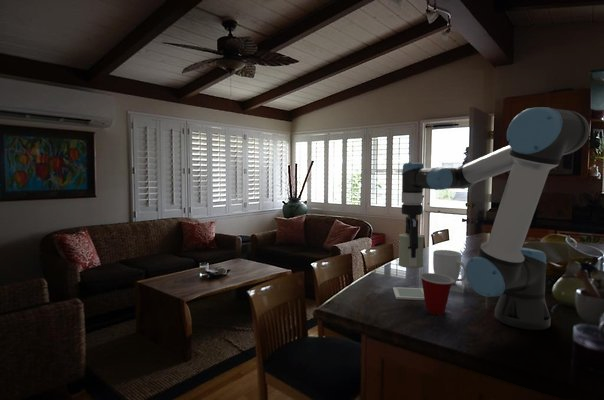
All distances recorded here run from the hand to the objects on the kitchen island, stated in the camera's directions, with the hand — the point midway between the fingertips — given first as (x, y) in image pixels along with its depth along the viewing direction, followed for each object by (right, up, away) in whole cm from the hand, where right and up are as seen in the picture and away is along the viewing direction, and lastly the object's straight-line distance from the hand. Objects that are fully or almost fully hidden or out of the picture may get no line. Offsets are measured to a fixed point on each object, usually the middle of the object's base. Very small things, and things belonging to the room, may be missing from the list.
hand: (410, 262), depth 141 cm
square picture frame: (0, -12, +1) cm, 12 cm away
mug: (+20, -12, +15) cm, 28 cm away
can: (0, -1, 0) cm, 1 cm away
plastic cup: (+4, -14, -17) cm, 22 cm away
